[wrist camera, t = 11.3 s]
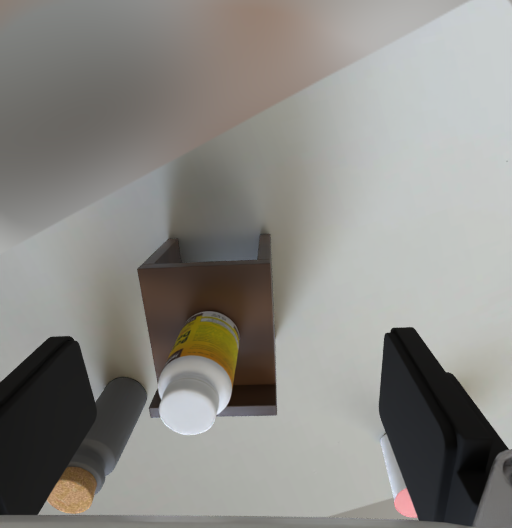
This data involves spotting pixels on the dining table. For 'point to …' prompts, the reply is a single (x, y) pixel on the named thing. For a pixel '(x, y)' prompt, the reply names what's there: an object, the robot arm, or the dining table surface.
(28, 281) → the dining table surface
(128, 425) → the bottle
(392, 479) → the cup
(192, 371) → the supplement bottle
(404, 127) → the dining table surface
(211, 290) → the shelf
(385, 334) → the robot arm
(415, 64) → the dining table surface
